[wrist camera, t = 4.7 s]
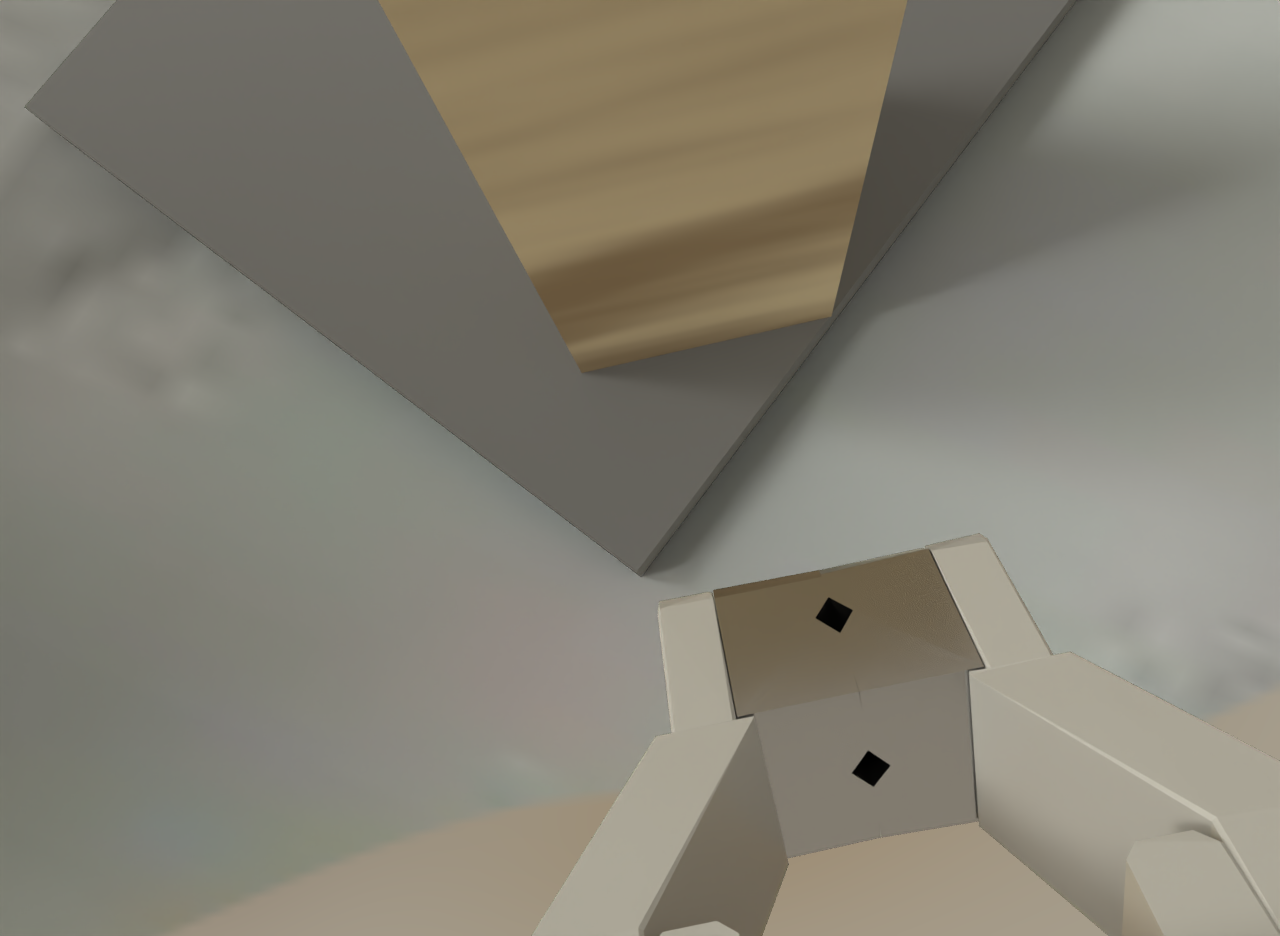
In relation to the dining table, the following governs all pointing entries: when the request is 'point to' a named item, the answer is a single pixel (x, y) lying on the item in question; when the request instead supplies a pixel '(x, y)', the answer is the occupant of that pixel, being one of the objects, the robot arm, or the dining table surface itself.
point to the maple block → (663, 153)
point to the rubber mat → (476, 229)
